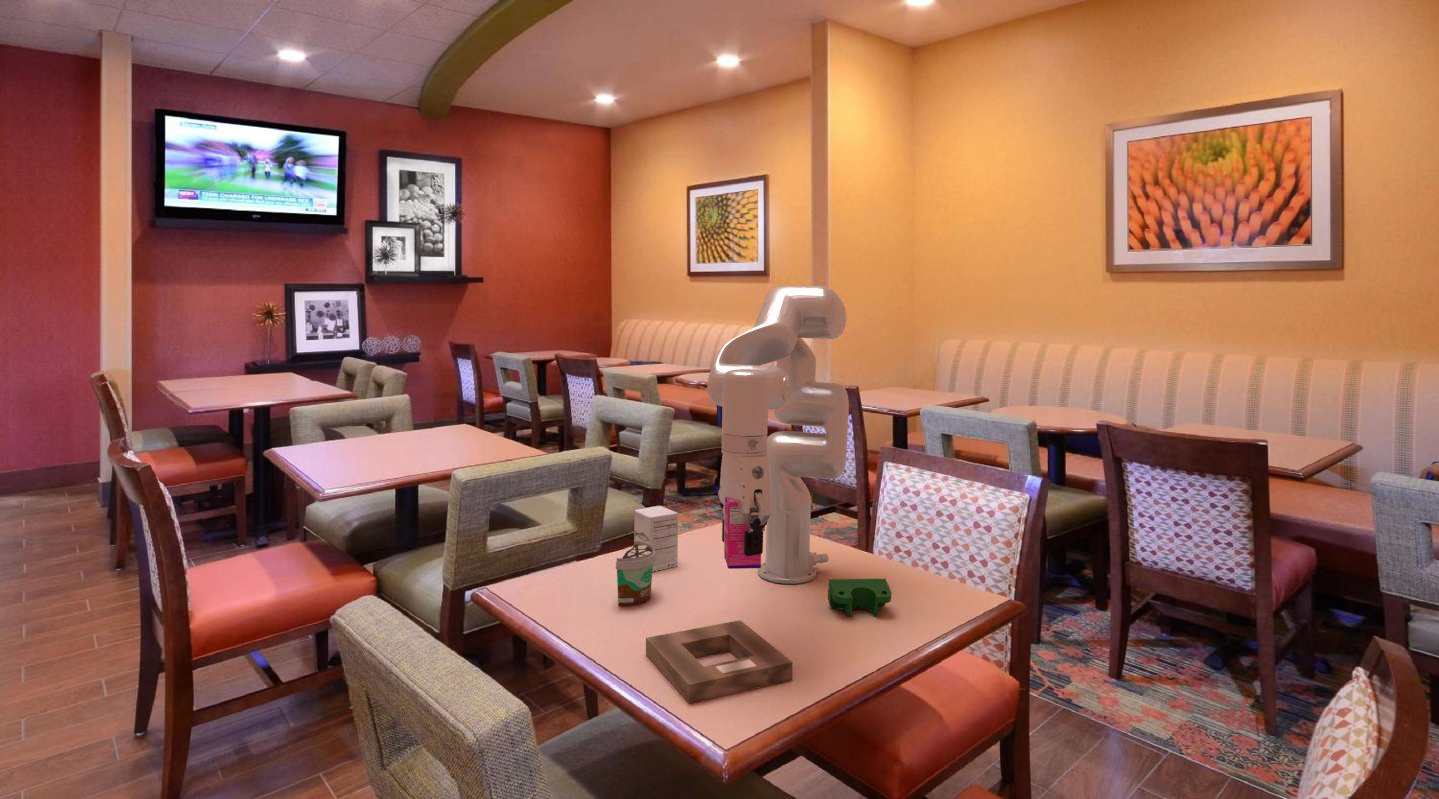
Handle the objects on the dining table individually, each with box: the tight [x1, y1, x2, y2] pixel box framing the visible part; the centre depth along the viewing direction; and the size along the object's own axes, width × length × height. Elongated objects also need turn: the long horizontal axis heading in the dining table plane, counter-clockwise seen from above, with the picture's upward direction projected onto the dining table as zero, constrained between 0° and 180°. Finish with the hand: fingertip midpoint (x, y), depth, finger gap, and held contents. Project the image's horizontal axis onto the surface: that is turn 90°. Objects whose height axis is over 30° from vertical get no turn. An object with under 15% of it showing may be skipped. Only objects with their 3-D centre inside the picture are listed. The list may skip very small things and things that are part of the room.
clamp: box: [827, 578, 893, 618], centre depth 157 cm, size 12×6×9 cm
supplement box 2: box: [723, 497, 762, 570], centre depth 136 cm, size 6×6×12 cm
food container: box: [615, 540, 657, 607], centre depth 161 cm, size 12×6×10 cm, turn 168°
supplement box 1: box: [633, 505, 679, 573], centre depth 181 cm, size 7×7×13 cm
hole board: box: [645, 619, 794, 705], centre depth 133 cm, size 18×18×3 cm
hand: (741, 547), depth 136 cm, fingers closed on supplement box 2, 7 cm apart
